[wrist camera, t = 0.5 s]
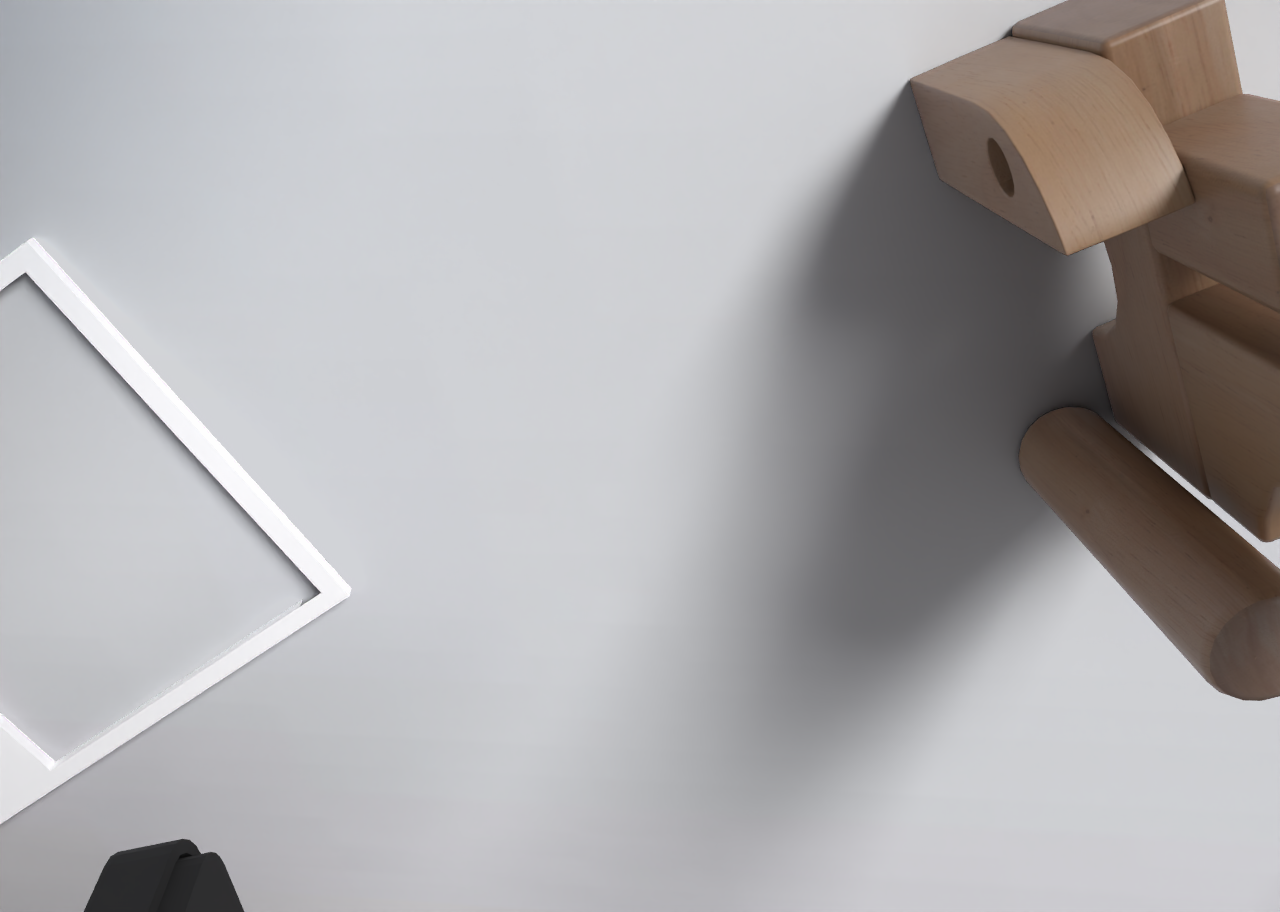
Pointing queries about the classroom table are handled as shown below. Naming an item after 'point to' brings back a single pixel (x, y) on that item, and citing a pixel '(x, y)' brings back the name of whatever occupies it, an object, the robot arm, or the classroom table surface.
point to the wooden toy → (1148, 296)
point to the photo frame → (3, 755)
